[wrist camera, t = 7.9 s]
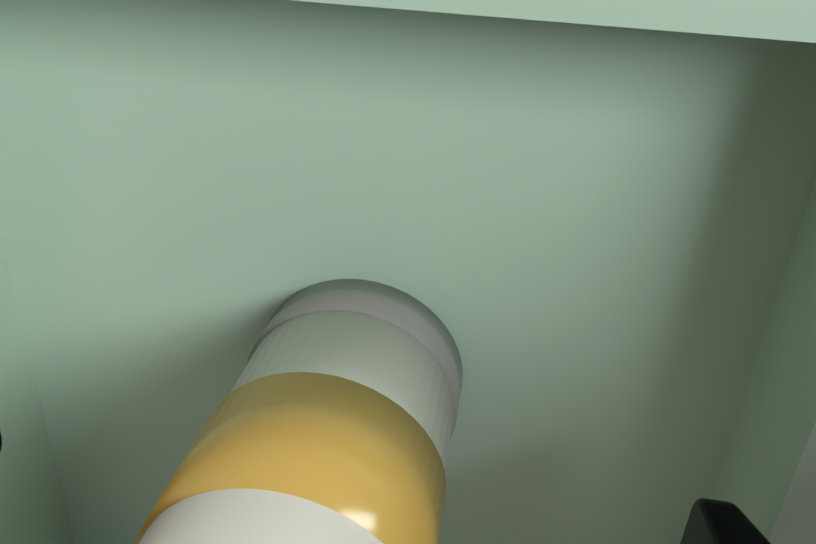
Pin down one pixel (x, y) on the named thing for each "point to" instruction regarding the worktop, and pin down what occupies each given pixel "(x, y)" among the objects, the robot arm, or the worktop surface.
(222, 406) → the fuse marked
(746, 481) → the tray
